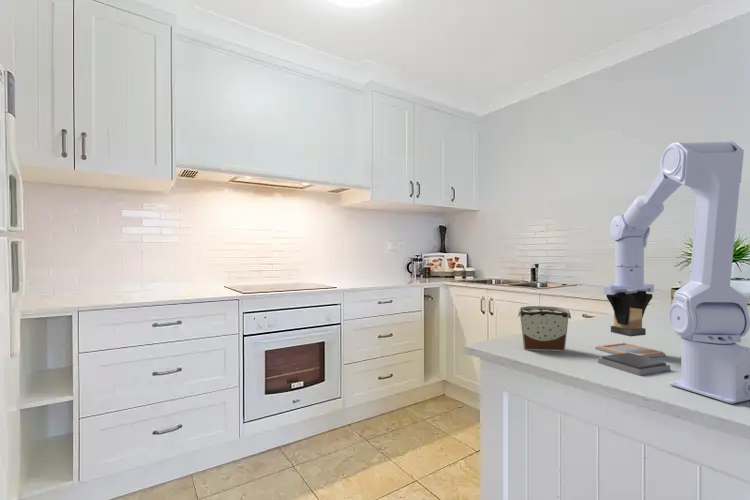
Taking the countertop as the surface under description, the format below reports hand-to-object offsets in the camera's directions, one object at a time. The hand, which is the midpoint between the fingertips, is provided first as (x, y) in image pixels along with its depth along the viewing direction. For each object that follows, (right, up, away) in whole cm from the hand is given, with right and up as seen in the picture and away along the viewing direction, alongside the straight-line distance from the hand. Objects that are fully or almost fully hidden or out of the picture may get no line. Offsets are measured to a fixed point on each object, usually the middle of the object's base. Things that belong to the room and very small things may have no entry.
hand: (629, 323), depth 91 cm
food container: (-19, -7, +5) cm, 21 cm away
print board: (0, -7, 0) cm, 7 cm away
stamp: (0, -3, 0) cm, 3 cm away
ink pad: (-7, -7, -11) cm, 14 cm away
